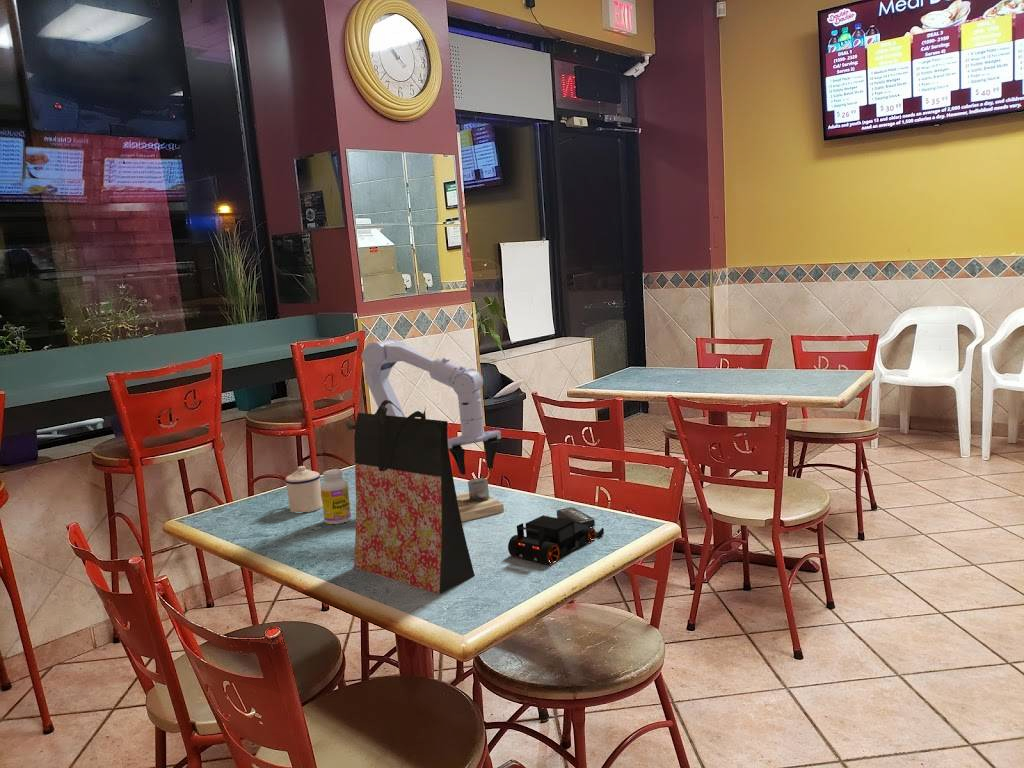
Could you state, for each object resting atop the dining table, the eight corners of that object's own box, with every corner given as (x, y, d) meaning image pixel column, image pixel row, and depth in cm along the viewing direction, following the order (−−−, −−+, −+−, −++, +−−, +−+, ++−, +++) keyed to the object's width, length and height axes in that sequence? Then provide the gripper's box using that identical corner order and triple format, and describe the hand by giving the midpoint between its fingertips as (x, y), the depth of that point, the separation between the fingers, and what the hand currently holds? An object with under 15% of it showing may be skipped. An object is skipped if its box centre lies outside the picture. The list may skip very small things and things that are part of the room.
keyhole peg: (467, 506, 196) (465, 480, 195) (485, 502, 198) (483, 477, 197) (474, 511, 191) (472, 485, 190) (492, 507, 193) (490, 481, 192)
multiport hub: (578, 532, 171) (578, 522, 170) (556, 519, 181) (555, 510, 180) (595, 528, 173) (595, 518, 172) (572, 515, 183) (572, 506, 182)
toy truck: (604, 537, 167) (602, 505, 166) (547, 568, 152) (544, 533, 151) (566, 529, 174) (564, 498, 173) (508, 558, 159) (505, 525, 158)
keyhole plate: (424, 508, 196) (423, 501, 196) (477, 496, 203) (476, 489, 203) (448, 525, 182) (447, 517, 182) (504, 511, 189) (503, 503, 188)
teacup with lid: (330, 505, 206) (325, 464, 204) (303, 516, 199) (297, 472, 197) (303, 500, 213) (298, 460, 212) (276, 509, 207) (270, 468, 205)
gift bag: (484, 570, 153) (468, 399, 148) (433, 597, 142) (413, 413, 137) (389, 545, 172) (372, 392, 167) (337, 567, 161) (317, 405, 156)
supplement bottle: (332, 527, 188) (326, 476, 186) (320, 522, 193) (313, 472, 191) (356, 519, 192) (350, 470, 190) (343, 514, 197) (337, 466, 195)
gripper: (450, 425, 184) (456, 479, 186) (504, 415, 191) (508, 468, 193) (440, 421, 191) (445, 473, 193) (492, 412, 197) (496, 463, 199)
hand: (476, 470), depth 193 cm, fingers open, 7 cm apart
